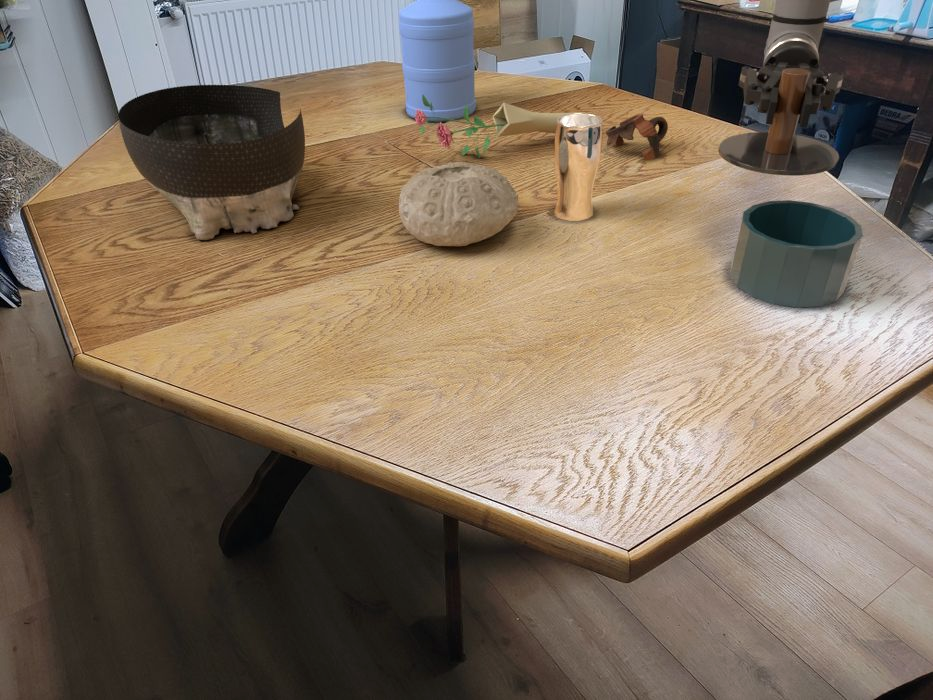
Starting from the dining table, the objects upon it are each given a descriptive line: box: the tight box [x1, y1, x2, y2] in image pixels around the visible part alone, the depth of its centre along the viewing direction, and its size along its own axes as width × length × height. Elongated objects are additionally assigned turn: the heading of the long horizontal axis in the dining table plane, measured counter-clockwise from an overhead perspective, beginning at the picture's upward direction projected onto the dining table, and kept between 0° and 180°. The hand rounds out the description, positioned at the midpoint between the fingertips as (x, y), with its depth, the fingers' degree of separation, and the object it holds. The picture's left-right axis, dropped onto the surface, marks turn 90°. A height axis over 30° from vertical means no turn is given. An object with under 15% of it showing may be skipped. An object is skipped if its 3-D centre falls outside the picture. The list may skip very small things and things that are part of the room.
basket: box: [117, 84, 306, 241], centre depth 112 cm, size 28×35×16 cm
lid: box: [718, 68, 840, 177], centre depth 88 cm, size 15×15×11 cm
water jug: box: [398, 0, 477, 123], centre depth 145 cm, size 16×16×28 cm
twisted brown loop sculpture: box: [605, 113, 669, 162], centre depth 127 cm, size 12×10×8 cm
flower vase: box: [415, 95, 585, 159], centre depth 129 cm, size 12×12×35 cm
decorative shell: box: [398, 161, 519, 247], centre depth 101 cm, size 18×18×10 cm
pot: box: [729, 199, 864, 309], centre depth 87 cm, size 14×14×8 cm
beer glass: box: [553, 112, 603, 222], centre depth 103 cm, size 7×7×15 cm
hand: (788, 114), depth 83 cm, fingers closed on lid, 3 cm apart
